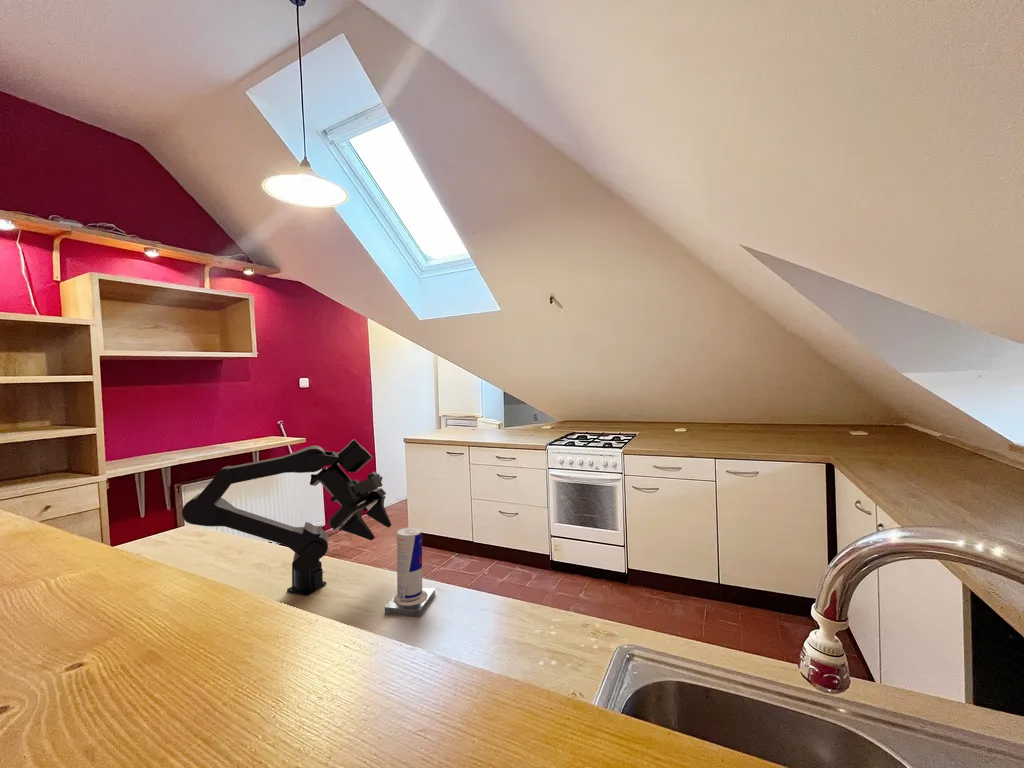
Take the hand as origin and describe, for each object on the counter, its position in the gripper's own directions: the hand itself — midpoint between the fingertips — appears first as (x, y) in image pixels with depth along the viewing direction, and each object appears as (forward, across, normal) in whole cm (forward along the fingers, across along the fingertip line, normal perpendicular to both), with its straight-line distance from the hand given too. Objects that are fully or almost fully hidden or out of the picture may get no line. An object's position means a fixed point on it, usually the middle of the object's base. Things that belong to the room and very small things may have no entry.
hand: (382, 532), depth 108 cm
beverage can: (+16, -6, +2) cm, 17 cm away
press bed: (+17, -7, +2) cm, 18 cm away
